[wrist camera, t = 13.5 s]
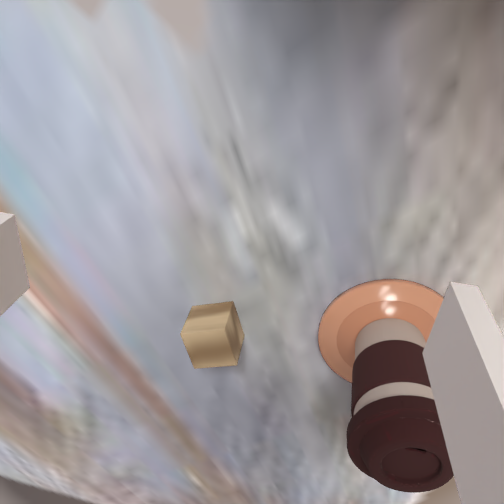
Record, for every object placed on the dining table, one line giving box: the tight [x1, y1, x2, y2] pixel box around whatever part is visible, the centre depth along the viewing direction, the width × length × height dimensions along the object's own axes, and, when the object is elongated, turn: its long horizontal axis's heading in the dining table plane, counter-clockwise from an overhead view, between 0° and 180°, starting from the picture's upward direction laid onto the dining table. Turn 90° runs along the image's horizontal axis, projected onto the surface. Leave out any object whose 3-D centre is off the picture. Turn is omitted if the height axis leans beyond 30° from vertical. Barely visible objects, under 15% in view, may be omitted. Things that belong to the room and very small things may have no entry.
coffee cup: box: [347, 318, 454, 492], centre depth 42 cm, size 10×10×15 cm
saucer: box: [318, 279, 444, 383], centre depth 49 cm, size 15×15×1 cm
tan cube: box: [180, 301, 244, 369], centre depth 50 cm, size 5×5×5 cm
